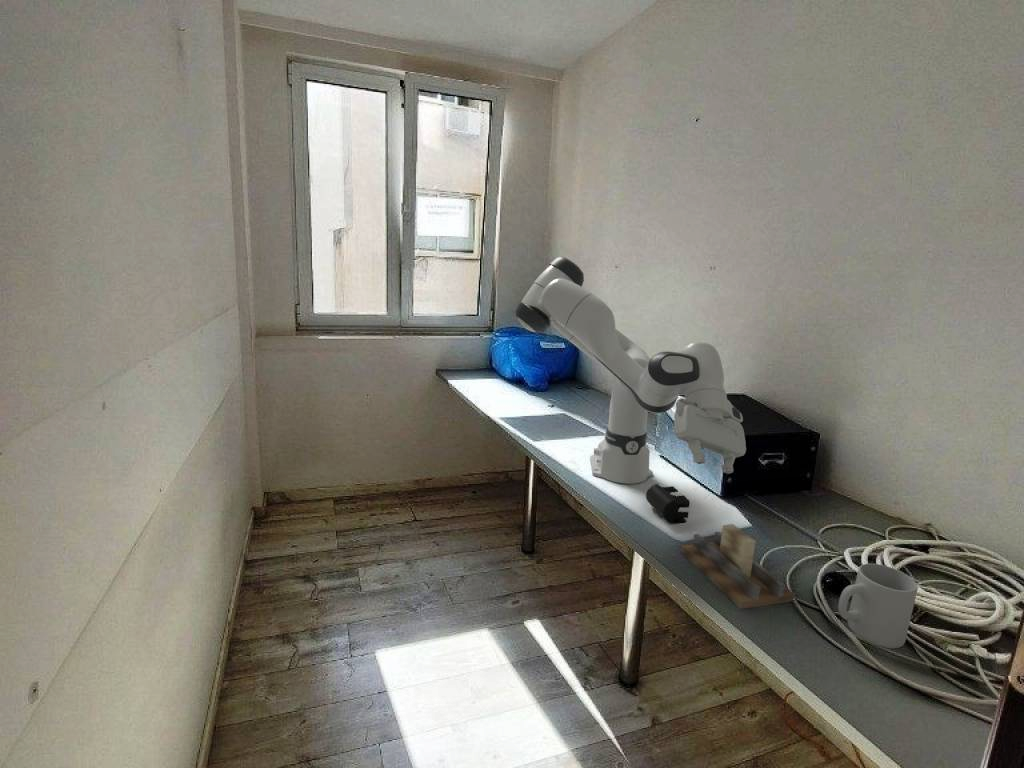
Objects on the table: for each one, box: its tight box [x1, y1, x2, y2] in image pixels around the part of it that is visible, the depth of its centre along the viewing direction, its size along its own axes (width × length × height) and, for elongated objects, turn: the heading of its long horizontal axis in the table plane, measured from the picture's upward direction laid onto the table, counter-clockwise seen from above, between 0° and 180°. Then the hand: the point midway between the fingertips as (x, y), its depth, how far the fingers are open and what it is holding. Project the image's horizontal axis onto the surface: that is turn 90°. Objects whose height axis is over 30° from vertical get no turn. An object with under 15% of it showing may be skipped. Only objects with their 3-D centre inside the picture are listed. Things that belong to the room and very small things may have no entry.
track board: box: [680, 531, 796, 610], centre depth 106 cm, size 20×12×4 cm, turn 14°
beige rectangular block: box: [719, 523, 757, 577], centre depth 105 cm, size 7×2×8 cm, turn 14°
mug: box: [838, 563, 919, 649], centre depth 89 cm, size 12×8×11 cm
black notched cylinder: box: [645, 483, 691, 525], centre depth 130 cm, size 10×7×7 cm
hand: (714, 467), depth 109 cm, fingers open, 8 cm apart
